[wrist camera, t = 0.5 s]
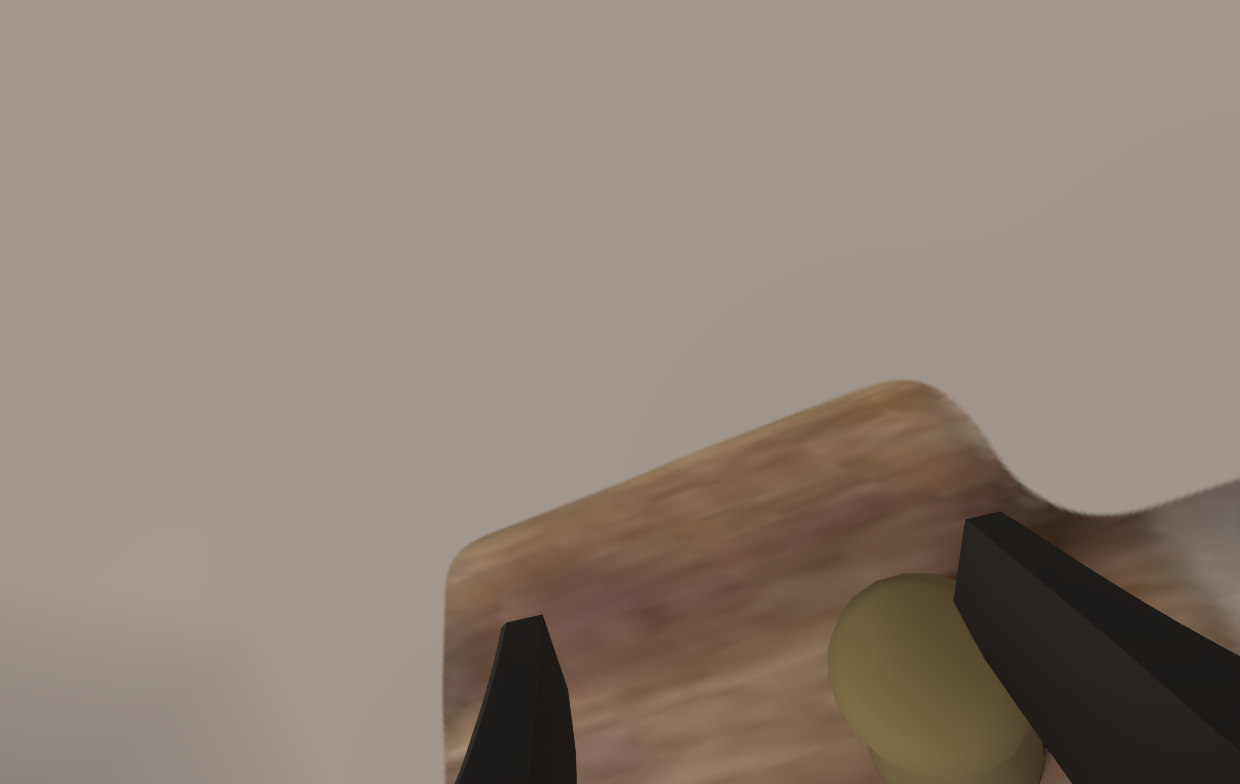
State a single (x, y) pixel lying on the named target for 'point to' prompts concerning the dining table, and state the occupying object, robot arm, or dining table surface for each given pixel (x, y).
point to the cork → (926, 689)
